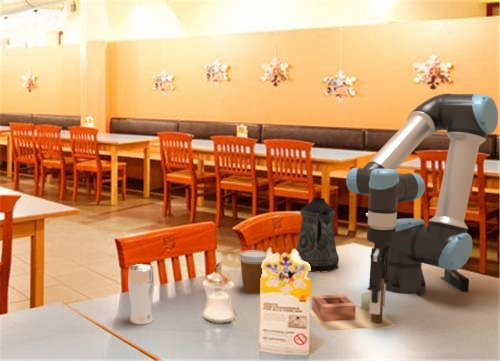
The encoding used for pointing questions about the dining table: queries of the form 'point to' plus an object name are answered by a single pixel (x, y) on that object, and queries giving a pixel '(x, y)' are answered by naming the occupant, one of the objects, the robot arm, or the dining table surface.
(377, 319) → the brown wooden cylinder
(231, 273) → the dining table surface
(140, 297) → the beer glass
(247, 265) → the disposable coffee cup
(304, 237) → the beer stein
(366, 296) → the loose bead
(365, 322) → the board
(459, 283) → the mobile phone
